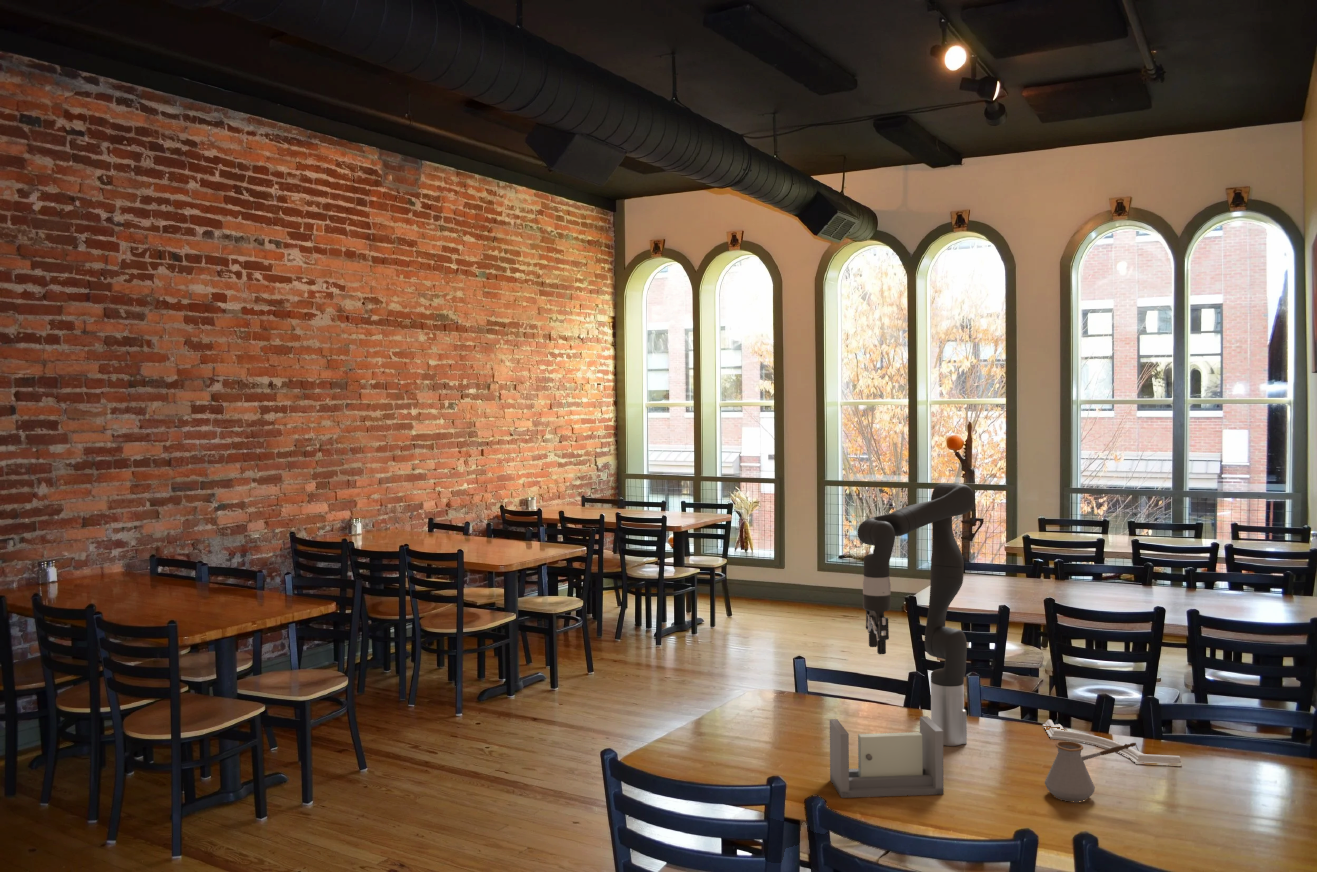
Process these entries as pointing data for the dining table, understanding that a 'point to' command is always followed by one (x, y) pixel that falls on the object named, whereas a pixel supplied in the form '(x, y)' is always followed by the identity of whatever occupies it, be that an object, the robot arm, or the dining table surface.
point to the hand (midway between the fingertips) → (877, 650)
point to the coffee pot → (1073, 772)
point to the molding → (1106, 744)
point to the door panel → (890, 754)
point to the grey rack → (887, 785)
